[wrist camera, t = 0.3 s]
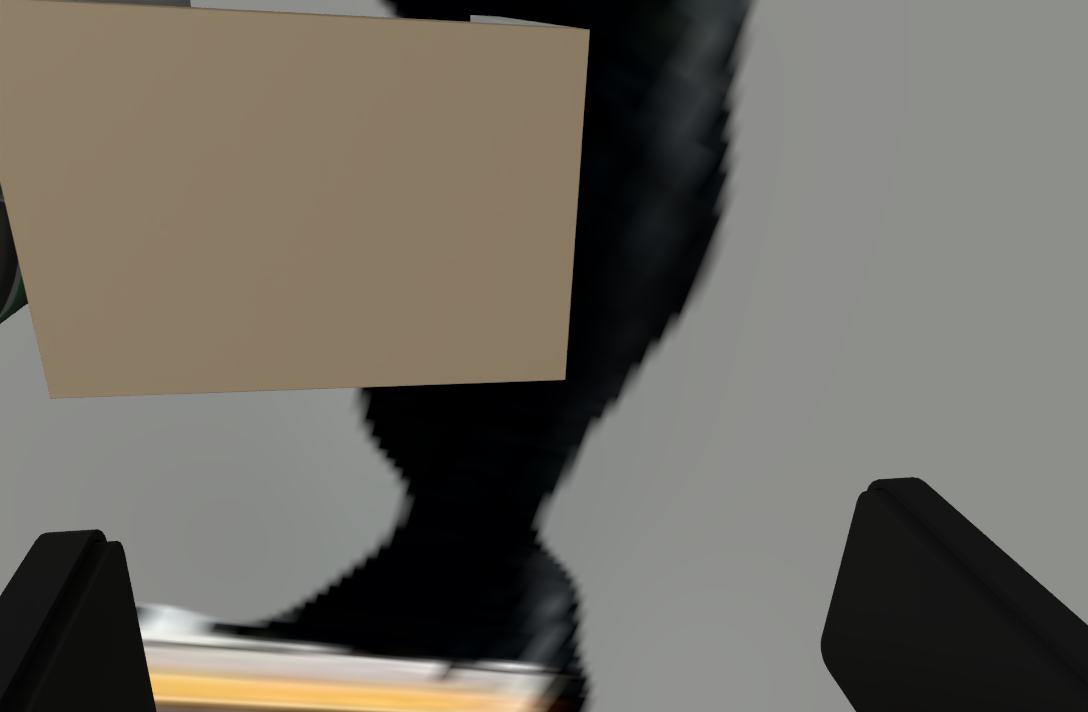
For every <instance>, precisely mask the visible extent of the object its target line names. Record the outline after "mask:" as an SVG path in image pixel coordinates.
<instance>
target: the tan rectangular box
mask: <svg viewBox="0 0 1088 712" xmlns="http://www.w3.org/2000/svg"><path fill="white" fill-rule="evenodd" d="M589 31H590V30H587V29H580V28H573V27H566V26H559V25H552V24H545V23H538V22H531V21H524V20H517V19H511V18H504V17H495V16H477V15H471V22H461V21H442V20H423V19H404V18H385V17H366V16H347V15H328V14H308V13H290V12H272V11H253V10H234V9H215V8H195V7H191V5H190V0H0V183H1V187H2V191H3V196H4V200H5V204H6V209H7V213H8V217H9V222H10V226H11V230H12V235H13V239H14V243H15V248H16V252H17V256H18V261H19V265H20V269H21V274H22V278H23V282H24V286H25V291H26V295H27V299H28V304H29V308H30V312H31V317H32V321H33V325H34V329H35V334H36V338H37V343H38V346H39V351H40V355H41V360H42V364H43V368H44V373H45V377H46V381H47V386H48V390H49V394H50V398H51V399H56V398H83V397H111V396H137V395H164V394H192V393H219V392H245V391H246V392H247V391H273V390H300V389H328V388H355V387H383V386H410V385H437V384H464V383H491V382H518V381H546V380H565V374H566V359H567V345H568V331H569V316H570V302H571V288H572V274H573V259H574V245H575V231H576V217H577V202H578V188H579V174H580V160H581V145H582V131H583V117H584V103H585V88H586V74H587V60H588V45H589Z"/></svg>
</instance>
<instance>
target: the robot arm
mask: <svg viewBox="0 0 1088 712" xmlns="http://www.w3.org/2000/svg"><path fill="white" fill-rule="evenodd" d="M821 653H822V657H823V660H824V663H825V665H826V667H827V669H828V670H829V672H830V673H831V675H832V676H833V678H834V679H835V681H836V682H837V684H838V685H839V687H840V688H841V690H842V691H843V693H844V694H845V696H846V697H847V699H848V700H849V702H850V703H851V705H852V706H853V707H854V709H855V711H856V712H1088V625H1087V624H1086V623H1085V622H1083V621H1082V620H1081V619H1080V618H1079V617H1078V616H1077V615H1075V614H1074V613H1073V612H1072V611H1071V610H1070V609H1069V608H1067V607H1066V606H1065V605H1064V604H1063V603H1062V602H1061V601H1060V600H1058V599H1057V598H1056V597H1055V596H1054V595H1053V594H1052V593H1050V592H1049V591H1048V590H1047V589H1046V588H1045V587H1044V586H1043V585H1041V584H1040V583H1039V582H1038V581H1037V580H1036V579H1034V578H1033V577H1032V576H1031V575H1030V574H1029V573H1028V572H1026V571H1025V570H1024V569H1023V568H1022V567H1021V566H1020V565H1019V564H1018V563H1016V562H1015V561H1014V560H1013V559H1012V558H1010V556H1008V555H1007V554H1006V553H1005V552H1004V551H1002V549H1000V548H999V547H998V546H997V545H996V544H995V543H994V542H993V541H991V540H990V539H989V538H988V537H987V536H986V535H984V534H983V533H982V532H981V531H980V530H979V529H978V528H977V527H975V526H974V525H973V524H972V523H971V522H970V521H969V520H967V519H966V518H965V517H964V516H963V515H962V514H961V513H960V512H958V511H957V510H956V509H955V508H954V507H953V506H952V505H951V504H949V503H948V502H947V501H946V500H945V499H944V498H943V497H941V496H940V495H939V494H938V493H937V492H936V491H935V490H933V489H932V488H931V487H930V486H929V485H928V484H927V483H926V482H924V481H922V480H921V479H919V478H914V477H911V478H894V479H878V480H876V481H873V482H872V483H871V484H870V485H869V487H868V489H867V491H865V492H862V493H861V494H860V496H859V498H858V500H857V503H856V507H855V511H854V515H853V519H852V523H851V527H850V530H849V534H848V538H847V542H846V546H845V550H844V553H843V557H842V561H841V565H840V569H839V572H838V576H837V580H836V584H835V588H834V592H833V596H832V600H831V603H830V607H829V611H828V615H827V619H826V623H825V626H824V630H823V634H822V638H821ZM0 712H156V707H155V702H154V697H153V692H152V687H151V682H150V677H149V672H148V667H147V662H146V657H145V652H144V647H143V642H142V637H141V632H140V627H139V622H138V617H137V612H136V607H135V602H134V597H133V592H132V587H131V582H130V577H129V572H128V567H127V562H126V557H125V553H124V549H123V546H122V544H121V543H120V542H118V541H110V542H107V540H106V537H105V535H104V534H103V532H102V531H100V530H98V529H96V530H81V531H65V532H49V533H44V534H41V535H40V536H39V538H38V539H37V540H36V541H35V543H34V544H33V546H32V547H31V549H30V550H29V552H28V553H27V555H26V557H25V558H24V560H23V561H22V563H21V564H20V566H19V568H18V569H17V571H16V572H15V574H14V575H13V577H12V578H11V580H10V582H9V583H8V585H7V586H6V588H5V589H4V591H3V592H2V594H1V596H0Z"/></svg>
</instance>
